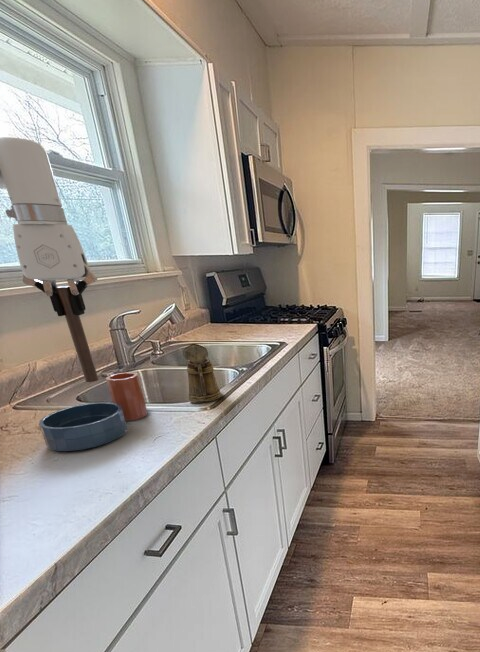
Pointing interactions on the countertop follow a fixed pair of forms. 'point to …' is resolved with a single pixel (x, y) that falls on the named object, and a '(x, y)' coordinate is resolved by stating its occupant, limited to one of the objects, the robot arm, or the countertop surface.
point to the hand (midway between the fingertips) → (71, 314)
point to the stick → (77, 335)
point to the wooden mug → (200, 375)
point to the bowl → (83, 426)
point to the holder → (127, 394)
